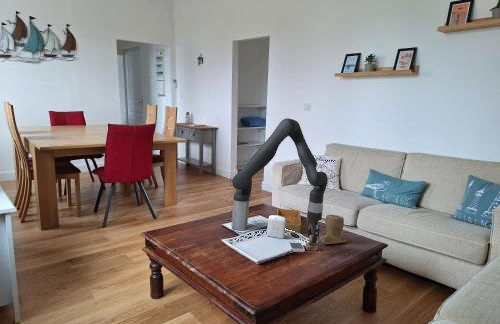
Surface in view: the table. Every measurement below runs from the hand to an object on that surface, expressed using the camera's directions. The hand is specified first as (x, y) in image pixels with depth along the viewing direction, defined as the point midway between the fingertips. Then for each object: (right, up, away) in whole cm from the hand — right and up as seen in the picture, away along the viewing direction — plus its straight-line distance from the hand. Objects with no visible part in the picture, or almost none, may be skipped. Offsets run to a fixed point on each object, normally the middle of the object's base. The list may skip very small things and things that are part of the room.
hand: (312, 239), depth 180 cm
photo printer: (-18, -2, +15) cm, 23 cm away
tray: (-9, +1, +38) cm, 39 cm away
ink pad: (-8, -5, 0) cm, 9 cm away
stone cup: (+13, -4, +13) cm, 19 cm away
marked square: (0, -5, +1) cm, 5 cm away
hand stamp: (0, -5, +1) cm, 5 cm away
